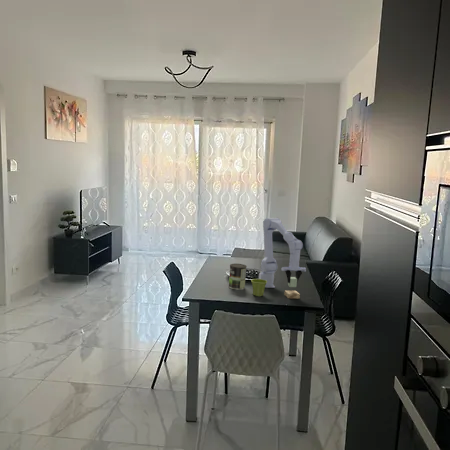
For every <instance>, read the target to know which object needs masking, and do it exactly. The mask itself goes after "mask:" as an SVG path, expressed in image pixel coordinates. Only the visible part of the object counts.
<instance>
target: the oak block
mask: <svg viewBox="0 0 450 450" xmlns="http://www.w3.org/2000/svg"><path fill="white" fill-rule="evenodd" d="M283 293H284V294H283V295H284V296H285V297H286V298H287V299H300V297H301V296H300V295H301V294H300V293H299V292H298V291H297V290H284V292H283Z"/></svg>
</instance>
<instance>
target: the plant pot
mask: <svg viewBox="0 0 450 450" xmlns="http://www.w3.org/2000/svg"><path fill="white" fill-rule="evenodd" d="M250 281H251V284H252V285H251V286H252V295H253V296H255V297H262V296H263V297H264V293H265V288H266V287H265V285H266V283H267V281H266V280H263V279H259V278H252V279H251V280H250Z"/></svg>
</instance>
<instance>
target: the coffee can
mask: <svg viewBox="0 0 450 450" xmlns="http://www.w3.org/2000/svg"><path fill="white" fill-rule="evenodd" d="M246 273H247V265H246V264H243V263H230V265H229V277H228V278H229V279H228V288H229V289H231V290H237V291H239V290H240V291H241V290H245V287H246Z"/></svg>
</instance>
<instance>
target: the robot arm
mask: <svg viewBox="0 0 450 450" xmlns="http://www.w3.org/2000/svg"><path fill="white" fill-rule="evenodd" d="M262 227H263V246H264V248H263V251H264V257H263V259H261V262H260V263H261V264H260V271H261V272H259V274H258V279H263V280H266V281H267V283H266V285H265V288H267V289H268V288H276V286H275V284H274V282H275V279H274V278H275V273H276V272H277V270H278V263H277V259H276V258H274V247H273V243H274V242H273V233H274V231H276V230H277V231H279V233H280V234H281V235H282V236H283V237H282V238H283V240H284V241H285V242H286V243H287V244H288V249H289V263H288V266H282V267H281V268H280V269H281V271H282V272H285V275H286V278H287V284H288V283H290V277H292V272H295V278H297V284H299V283H298V282H299V280H300V277H301V276H302V275H303V272H307V268H306V267H300V260H301V259H300V258H301V250H302V249H303V248H304V243H303V242H302V240H300V239H298V238H297V237H296V236H294V233H293V232H291V231H288V230H287V228H286V227H285V226H284V224H283V222H282V219H280V218H279V217H266V218H264V220H263V222H262Z"/></svg>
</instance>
